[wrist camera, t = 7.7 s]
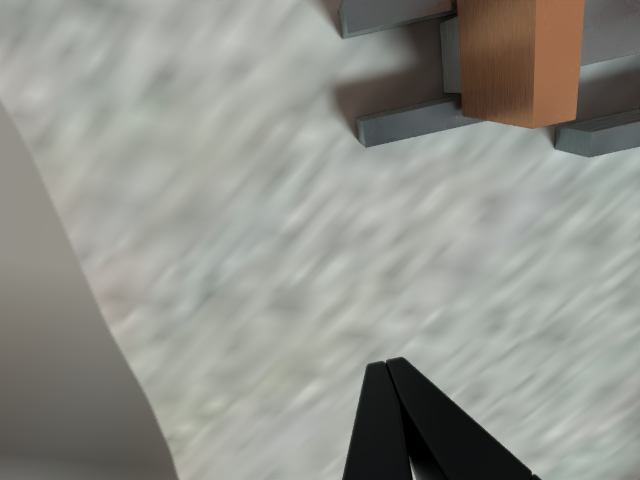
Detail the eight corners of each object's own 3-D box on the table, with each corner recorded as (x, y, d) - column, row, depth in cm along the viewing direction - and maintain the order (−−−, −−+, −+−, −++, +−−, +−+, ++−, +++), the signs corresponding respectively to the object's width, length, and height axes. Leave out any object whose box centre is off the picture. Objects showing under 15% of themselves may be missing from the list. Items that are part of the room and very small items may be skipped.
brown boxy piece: (658, -53, 16) (918, -151, 9) (641, 69, 18) (846, 59, 11) (438, -2, 16) (538, -62, 10) (445, 113, 18) (532, 128, 12)
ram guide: (510, -30, 16) (538, -45, 14) (510, 107, 19) (533, 110, 17) (337, 10, 16) (343, 0, 15) (358, 141, 19) (365, 147, 17)
